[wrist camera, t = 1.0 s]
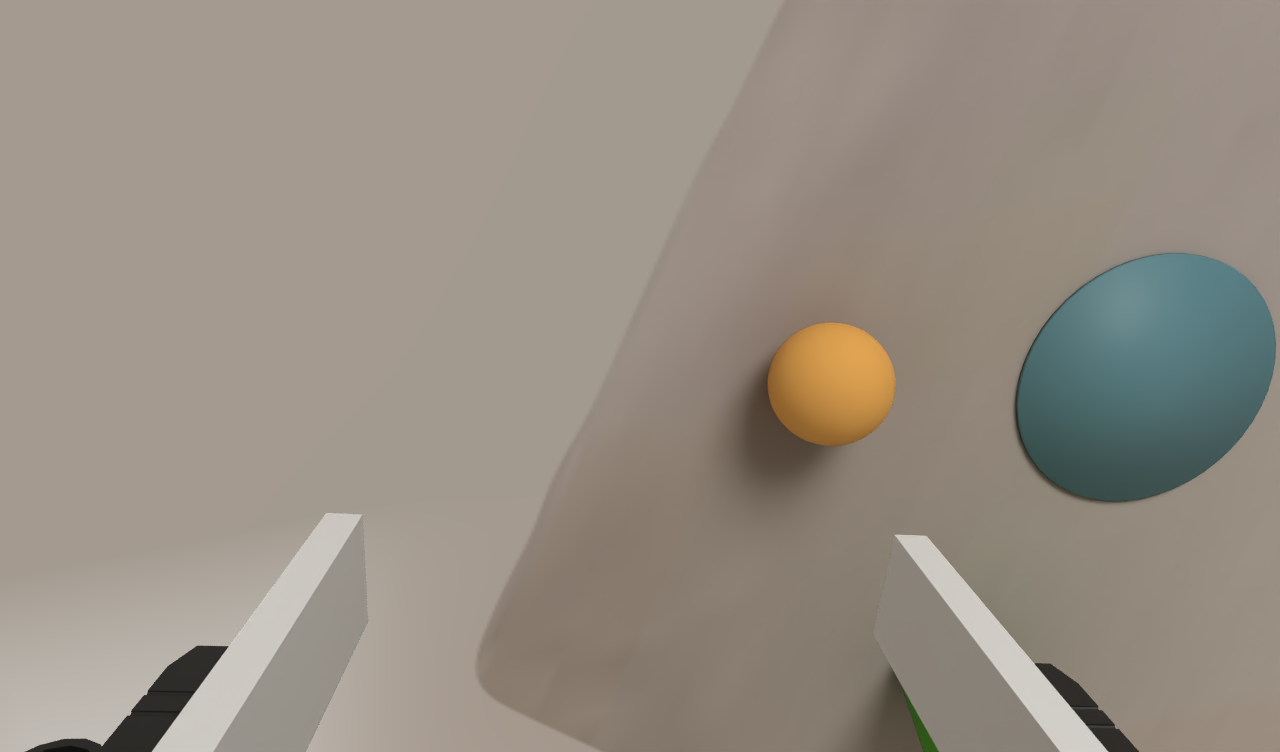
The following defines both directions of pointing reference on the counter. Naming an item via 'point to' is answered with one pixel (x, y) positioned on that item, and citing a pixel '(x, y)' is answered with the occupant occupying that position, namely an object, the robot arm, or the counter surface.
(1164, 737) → the counter surface
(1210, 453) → the teal ellipsoid
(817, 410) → the ball
